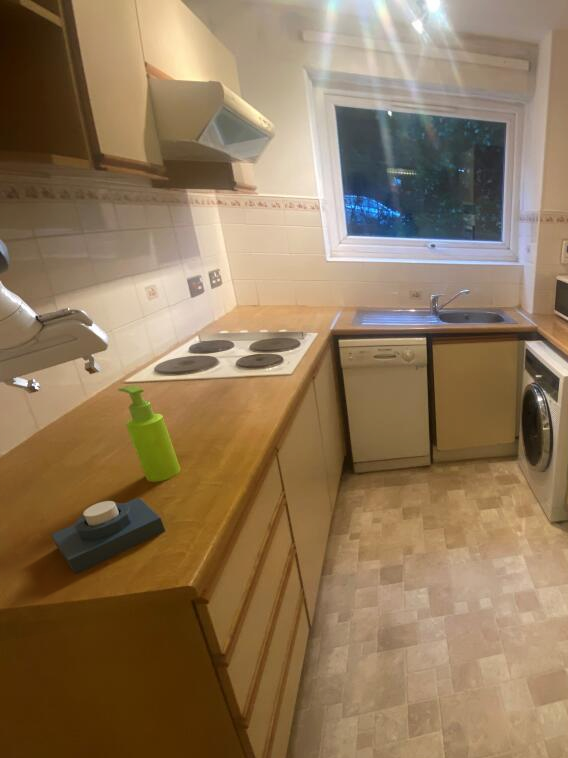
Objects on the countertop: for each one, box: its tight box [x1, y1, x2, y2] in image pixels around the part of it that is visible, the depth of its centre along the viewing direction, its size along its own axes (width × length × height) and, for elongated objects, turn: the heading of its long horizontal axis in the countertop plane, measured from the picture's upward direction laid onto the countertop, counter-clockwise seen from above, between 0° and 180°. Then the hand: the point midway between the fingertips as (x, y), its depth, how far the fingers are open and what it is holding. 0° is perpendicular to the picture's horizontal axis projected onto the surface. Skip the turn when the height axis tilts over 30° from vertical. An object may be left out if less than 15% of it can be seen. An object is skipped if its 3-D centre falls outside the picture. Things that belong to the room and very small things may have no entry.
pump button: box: [82, 500, 119, 526], centre depth 73 cm, size 4×4×2 cm
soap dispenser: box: [117, 385, 181, 483], centre depth 89 cm, size 6×7×20 cm
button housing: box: [50, 497, 166, 575], centre depth 74 cm, size 12×10×5 cm
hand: (66, 380), depth 83 cm, fingers open, 8 cm apart
